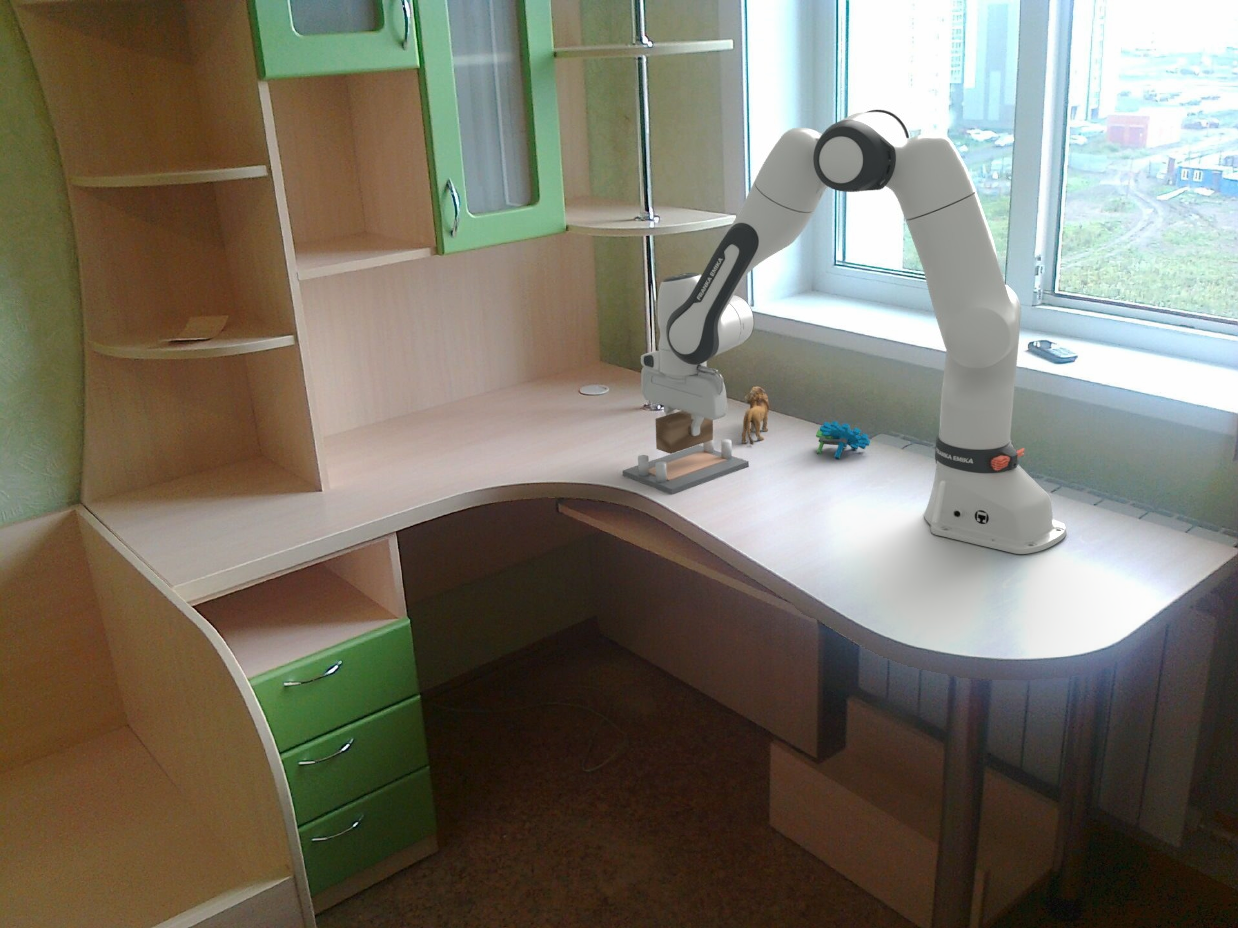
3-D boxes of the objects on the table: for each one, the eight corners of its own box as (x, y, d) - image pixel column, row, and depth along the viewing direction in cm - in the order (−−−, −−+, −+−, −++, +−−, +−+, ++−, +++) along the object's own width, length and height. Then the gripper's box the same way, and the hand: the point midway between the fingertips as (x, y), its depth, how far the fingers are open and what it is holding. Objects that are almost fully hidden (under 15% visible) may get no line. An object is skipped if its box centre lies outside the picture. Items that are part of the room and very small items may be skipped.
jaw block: (713, 439, 210) (712, 410, 208) (670, 453, 204) (669, 423, 201) (698, 435, 213) (698, 405, 211) (656, 448, 206) (655, 418, 204)
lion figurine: (745, 424, 235) (744, 384, 232) (770, 424, 234) (770, 384, 231) (740, 447, 221) (739, 404, 218) (766, 447, 220) (766, 405, 217)
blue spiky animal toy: (879, 445, 214) (857, 419, 207) (870, 471, 212) (847, 446, 206) (832, 441, 222) (808, 416, 215) (822, 467, 220) (798, 442, 213)
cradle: (748, 466, 211) (748, 444, 209) (671, 494, 199) (671, 471, 197) (698, 449, 221) (698, 428, 219) (622, 475, 209) (621, 453, 208)
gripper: (734, 367, 197) (735, 439, 202) (659, 348, 212) (661, 416, 216) (709, 374, 193) (710, 448, 198) (634, 355, 208) (637, 423, 213)
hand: (684, 431), depth 207 cm, fingers closed on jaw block, 4 cm apart
